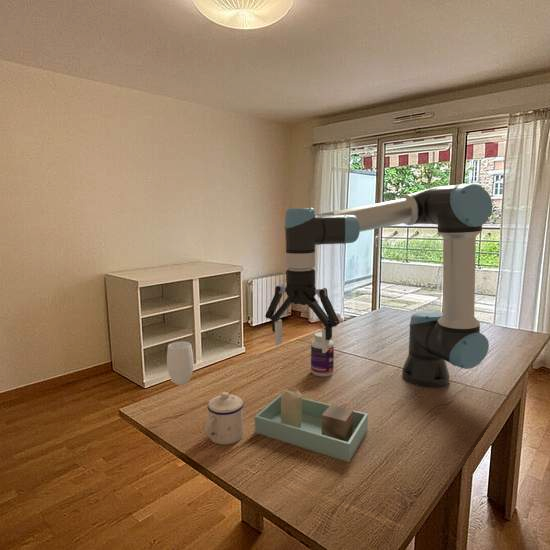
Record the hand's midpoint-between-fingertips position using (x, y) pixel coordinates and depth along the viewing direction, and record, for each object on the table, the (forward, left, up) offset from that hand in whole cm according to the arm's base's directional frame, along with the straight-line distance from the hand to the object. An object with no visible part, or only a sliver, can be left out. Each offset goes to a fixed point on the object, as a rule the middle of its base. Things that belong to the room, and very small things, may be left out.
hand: (301, 347), depth 103 cm
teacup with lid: (+14, +17, -22) cm, 31 cm away
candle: (+1, +4, -21) cm, 21 cm away
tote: (-5, +4, -21) cm, 22 cm away
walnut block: (-12, +4, -21) cm, 24 cm away
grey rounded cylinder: (+31, +13, -22) cm, 40 cm away
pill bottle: (+7, -33, -22) cm, 40 cm away
